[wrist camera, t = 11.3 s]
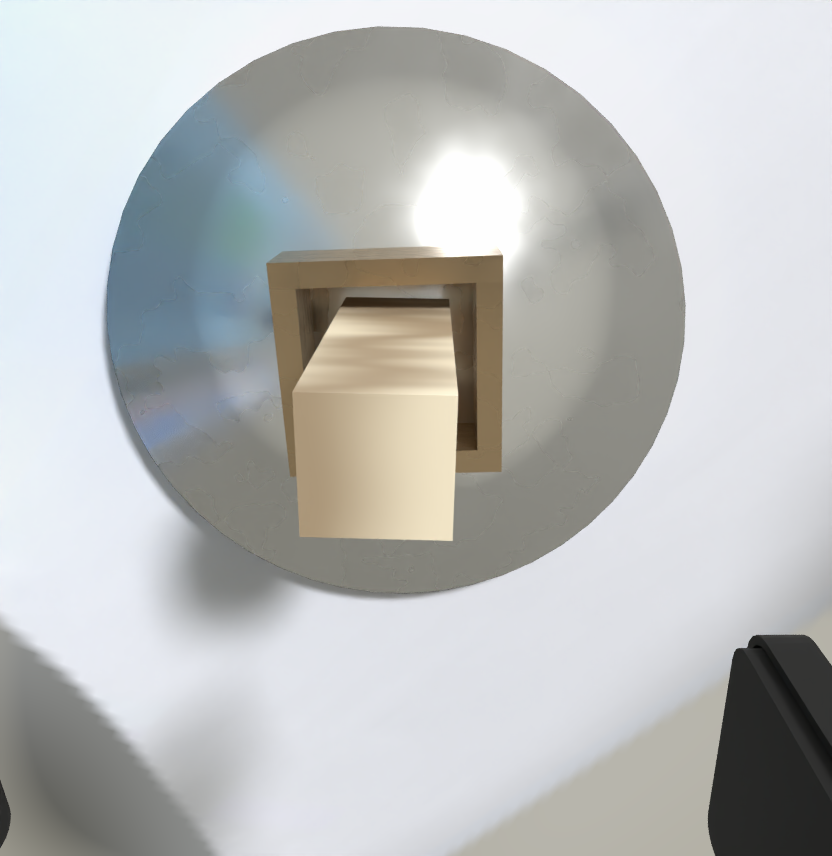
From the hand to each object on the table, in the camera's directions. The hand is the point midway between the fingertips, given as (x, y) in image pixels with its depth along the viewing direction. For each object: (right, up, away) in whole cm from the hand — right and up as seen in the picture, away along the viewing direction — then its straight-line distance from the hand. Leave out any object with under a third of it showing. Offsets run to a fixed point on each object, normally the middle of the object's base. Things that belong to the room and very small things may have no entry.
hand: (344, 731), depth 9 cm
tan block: (0, +6, +16) cm, 18 cm away
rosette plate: (0, +7, +17) cm, 19 cm away
